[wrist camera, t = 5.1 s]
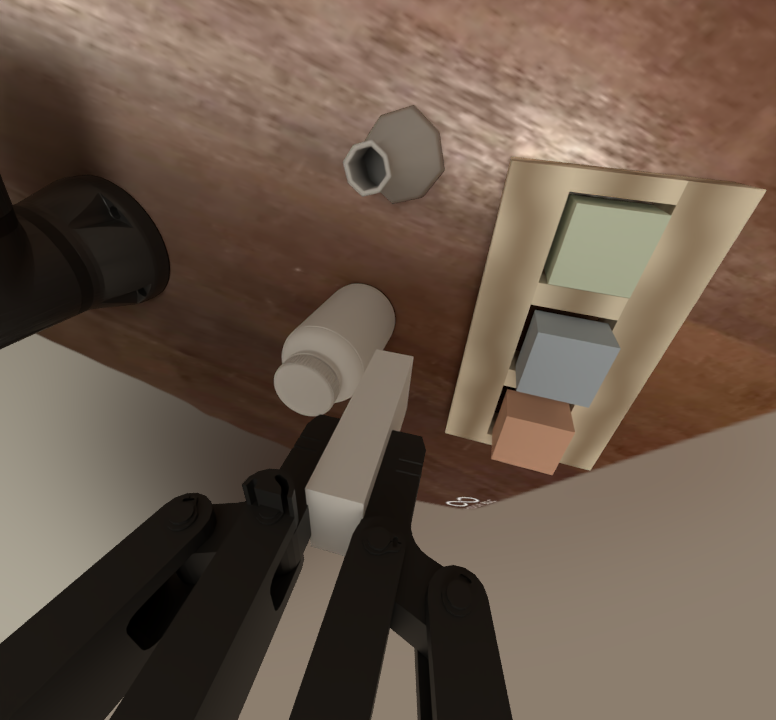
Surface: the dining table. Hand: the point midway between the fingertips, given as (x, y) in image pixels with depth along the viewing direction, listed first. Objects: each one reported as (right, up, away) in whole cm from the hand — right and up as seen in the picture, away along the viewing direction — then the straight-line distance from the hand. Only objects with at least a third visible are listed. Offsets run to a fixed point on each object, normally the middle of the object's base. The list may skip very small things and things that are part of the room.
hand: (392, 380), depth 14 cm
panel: (+16, +4, +21) cm, 27 cm away
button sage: (+17, +11, +15) cm, 25 cm away
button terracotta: (+15, -5, +23) cm, 28 cm away
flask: (+1, +19, +17) cm, 25 cm away
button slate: (+15, +2, +18) cm, 24 cm away
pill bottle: (-3, +6, +26) cm, 27 cm away
